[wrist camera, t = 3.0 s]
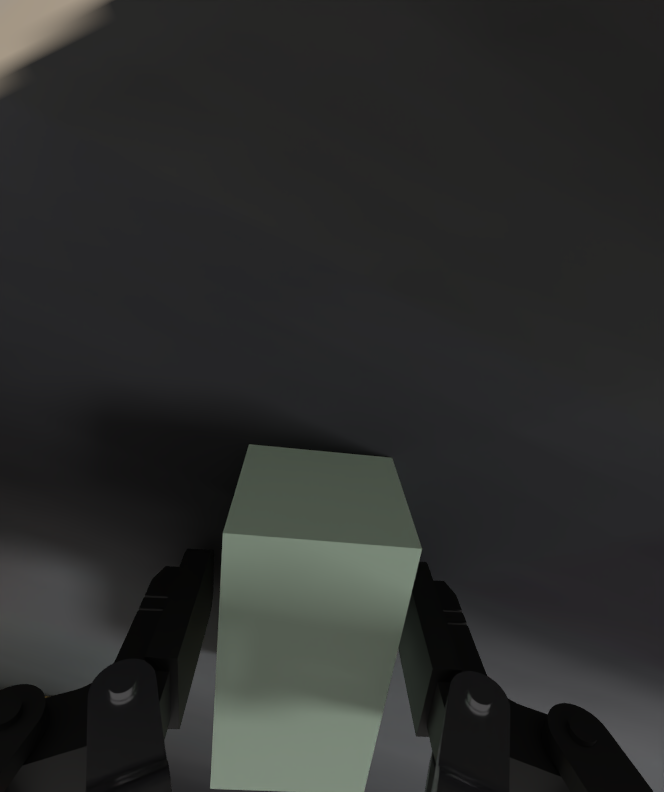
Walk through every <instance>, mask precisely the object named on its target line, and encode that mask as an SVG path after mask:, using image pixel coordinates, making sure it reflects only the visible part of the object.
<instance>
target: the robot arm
mask: <svg viewBox="0 0 664 792" xmlns="http://www.w3.org/2000/svg"><path fill="white" fill-rule="evenodd" d="M213 572H214V553H213V550H203V549H187V550H186V552H185V554H184V557H183V559H182V562H181V564H180V567H169V566H166V567H164V568H163V569H162V570H161V571H160V572H159V573H158V574H157V575H156V576H155V577H154V578H153V579H152V581H151V583H150V585H149V588H148V590H147V592H146V594H145V598H144V599H143V601H142V603H141V605H140V608H139V611H138V612H137V614H136V616H135V618H134V621H133V623H132V625H131V627H130V629H129V632H128V634H127V636H126V638H125V640H124V643H123V645H122V647H121V649H120V651H119V654H118V656H117V658H116V660H115V662H114V663H113V664H111V665H110V666H108V667H107V668H105V669H104V670H103V671H102V672H100V673H99V674H98V676H97V677H96V678H95V679H94V681H93V682H92V683H91V684H89V685H87V686H85V687H83V688H80V689H77V690H74V691H70V692H66V693H62V694H58V695H55V696H51V697H47V698H45V695H44V693H43V692H42V691H41V689H39V688H38V687H36V686H33V685H28V684H20V685H14V686H11V687H7V688H5V689H3V690H0V792H172V786H171V778H170V771H169V765H168V761H167V759H166V752H165V744H164V739H165V736H166V732H167V729H180V725H181V722H182V718H183V714H184V710H185V707H186V703H187V699H188V695H189V692H190V688H191V684H192V680H193V676H194V673H195V669H196V665H197V661H198V658H199V654H200V650H201V646H202V642H203V639H204V635H205V631H206V627H207V624H208V620H209V616H210V612H211V607H212V600H213ZM398 648H399V653H400V658H401V663H402V668H403V673H404V678H405V683H406V688H407V693H408V698H409V703H410V708H411V713H412V718H413V723H414V728H415V733H416V736H422V737H429V738H430V742H431V747H432V754H431V758H430V762H429V768H428V774H427V780H426V786H425V792H653V790H652V789H651V788H650V786H649V785H648V784H647V782H646V781H645V780H644V778H643V777H642V776H641V774H640V773H639V772H638V770H637V769H636V768H635V766H634V765H633V764H632V762H631V761H630V760H629V758H628V757H627V756H626V754H625V753H624V752H623V750H622V749H621V747H620V746H619V745H618V743H617V742H616V741H615V739H614V738H613V737H612V735H611V734H610V733H609V731H608V730H607V729H606V727H605V726H604V725H603V724H602V723H601V722H600V721H599V720H598V719H597V718H596V717H595V716H593V715H592V714H591V713H589V712H588V711H586V710H585V709H583V708H581V707H578V706H576V705H572V704H567V703H561V704H557V705H555V706H553V707H552V708H551V709H550V711H549V713H548V715H547V714H545V713H542V712H539V711H536V710H533V709H530V708H527V707H524V706H522V705H519V704H517V703H515V702H513V701H511V700H509V699H508V698H507V696H506V694H505V693H504V691H503V690H502V688H501V687H500V686H499V685H498V684H497V683H496V682H495V681H493V680H492V679H491V678H489V677H488V676H487V674H486V672H485V669H484V667H483V664H482V662H481V659H480V656H479V654H478V651H477V649H476V646H475V643H474V641H473V638H472V636H471V633H470V630H469V628H468V626H467V625H466V620H465V617H464V615H463V613H462V610H461V607H460V604H459V602H458V599H457V597H456V594H455V593H454V592H453V591H452V590H451V589H450V588H449V586H448V585H447V584H446V583H445V582H444V581H433V579H432V576H431V573H430V570H429V567H428V564H427V563H426V562H419V564H418V568H417V572H416V576H415V581H414V585H413V589H412V593H411V597H410V601H409V606H408V610H407V614H406V618H405V622H404V627H403V631H402V635H401V639H400V643H399V647H398Z"/></svg>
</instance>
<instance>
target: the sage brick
mask: <svg viewBox="0 0 664 792" xmlns="http://www.w3.org/2000/svg"><path fill="white" fill-rule="evenodd" d="M421 551H422V547H421V544H420V541H419V538H418V535H417V532H416V529H415V526H414V523H413V520H412V517H411V514H410V511H409V508H408V505H407V502H406V499H405V496H404V493H403V490H402V487H401V484H400V481H399V478H398V475H397V471H396V468H395V465H394V462H393V459H392V458H389V457H379V456H368V455H357V454H347V453H336V452H326V451H315V450H304V449H294V448H283V447H273V446H262V445H251V444H249V446H248V450H247V453H246V456H245V460H244V463H243V466H242V470H241V473H240V477H239V480H238V483H237V487H236V490H235V494H234V497H233V500H232V504H231V507H230V510H229V514H228V517H227V521H226V524H225V527H224V531H223V539H222V560H221V580H220V600H219V621H218V641H217V662H216V682H215V702H214V723H213V743H212V764H211V784H210V789H231V790H259V791H287V792H364V790H365V786H366V781H367V777H368V773H369V769H370V765H371V760H372V756H373V752H374V748H375V744H376V740H377V735H378V731H379V727H380V723H381V719H382V714H383V710H384V706H385V702H386V698H387V693H388V689H389V685H390V681H391V677H392V673H393V668H394V664H395V660H396V656H397V652H398V647H399V643H400V639H401V635H402V631H403V627H404V622H405V618H406V614H407V610H408V606H409V601H410V597H411V593H412V589H413V585H414V581H415V576H416V572H417V568H418V564H419V560H420V555H421Z"/></svg>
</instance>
